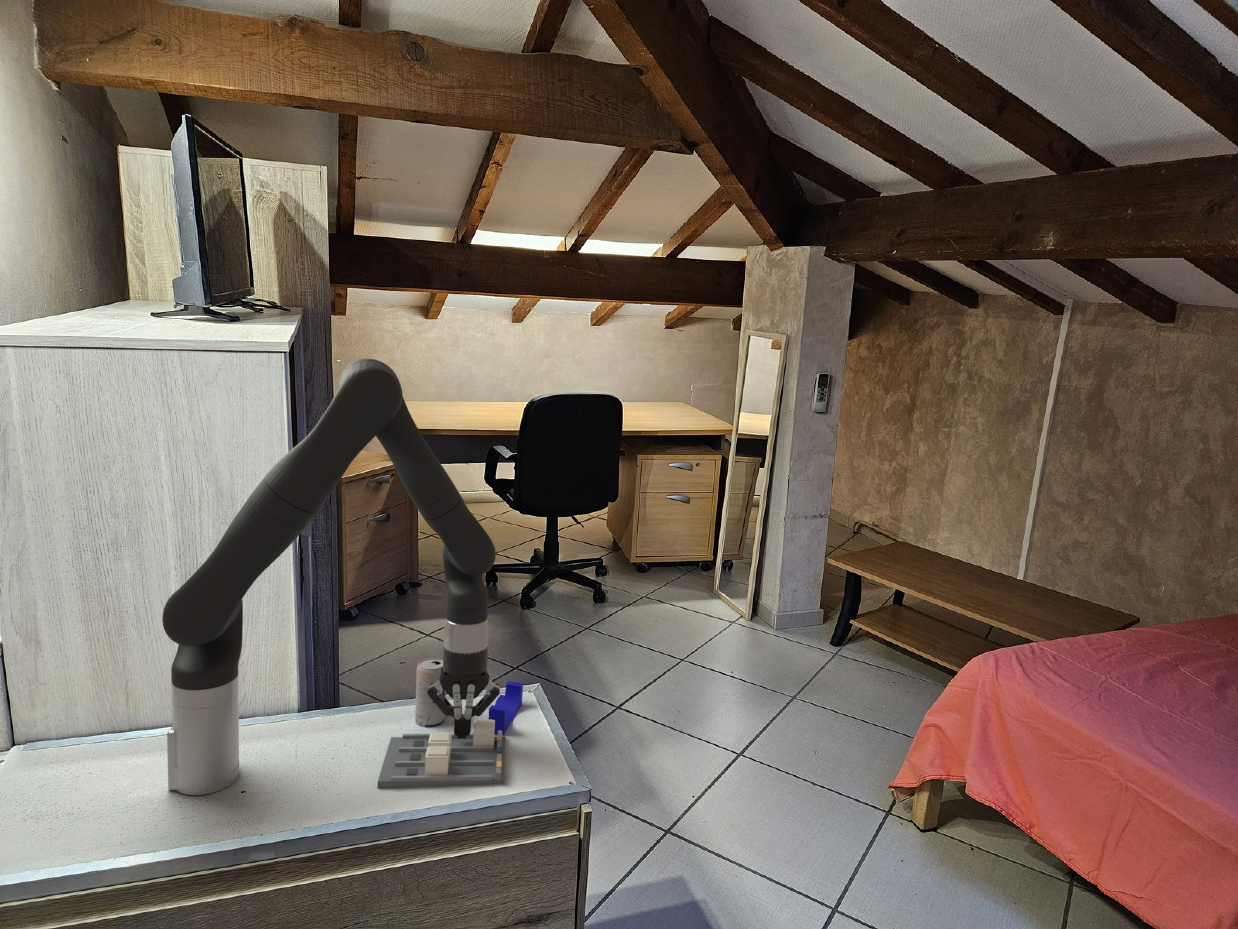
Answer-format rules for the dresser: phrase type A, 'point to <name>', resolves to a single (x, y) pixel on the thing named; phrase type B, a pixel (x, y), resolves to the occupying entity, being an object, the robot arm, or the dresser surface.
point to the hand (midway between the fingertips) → (462, 736)
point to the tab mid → (440, 739)
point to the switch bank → (464, 764)
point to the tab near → (437, 760)
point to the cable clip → (506, 707)
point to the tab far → (483, 733)
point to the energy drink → (425, 706)
